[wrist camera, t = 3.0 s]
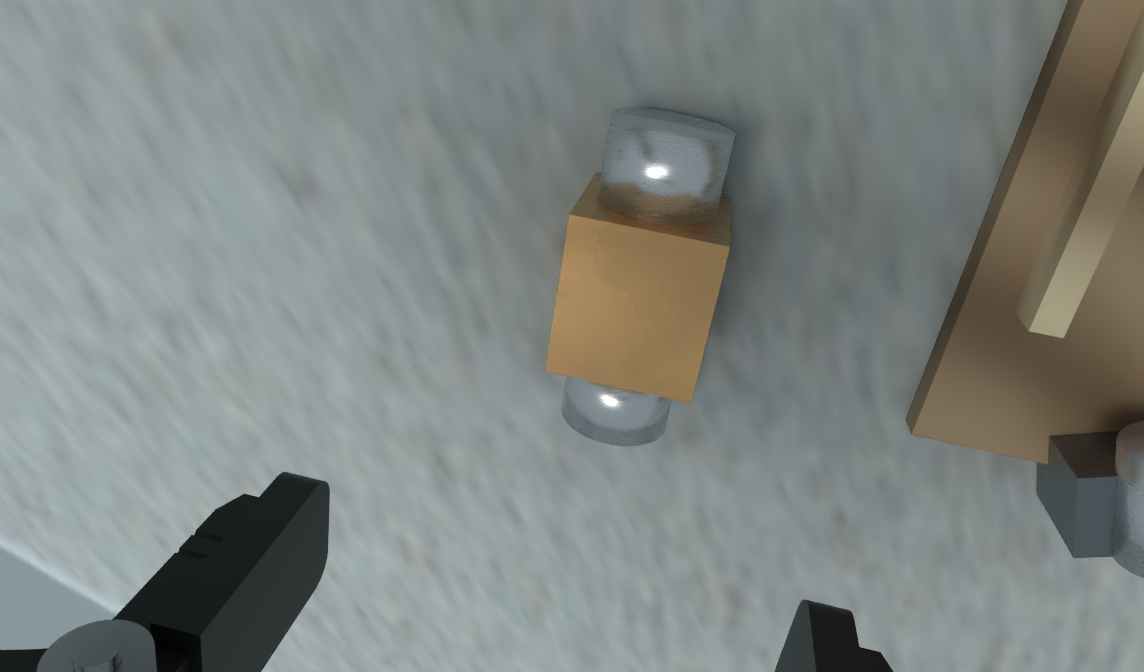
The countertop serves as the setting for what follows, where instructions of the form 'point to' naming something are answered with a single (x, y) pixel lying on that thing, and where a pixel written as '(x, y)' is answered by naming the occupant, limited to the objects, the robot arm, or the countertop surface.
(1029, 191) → the wooden tray with rails
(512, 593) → the countertop surface
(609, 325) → the coupling
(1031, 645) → the countertop surface
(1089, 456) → the shaft
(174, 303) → the countertop surface
